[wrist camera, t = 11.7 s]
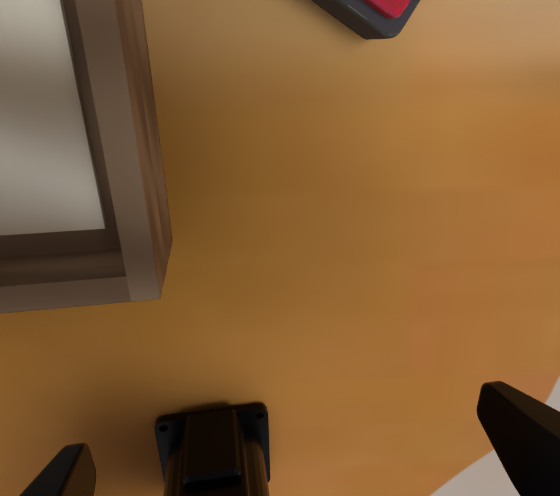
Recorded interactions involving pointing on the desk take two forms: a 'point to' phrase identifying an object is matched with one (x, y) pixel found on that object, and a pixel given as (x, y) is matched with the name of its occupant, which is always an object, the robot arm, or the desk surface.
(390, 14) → the calculator
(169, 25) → the desk surface
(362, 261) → the desk surface
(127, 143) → the base
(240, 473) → the robot arm
